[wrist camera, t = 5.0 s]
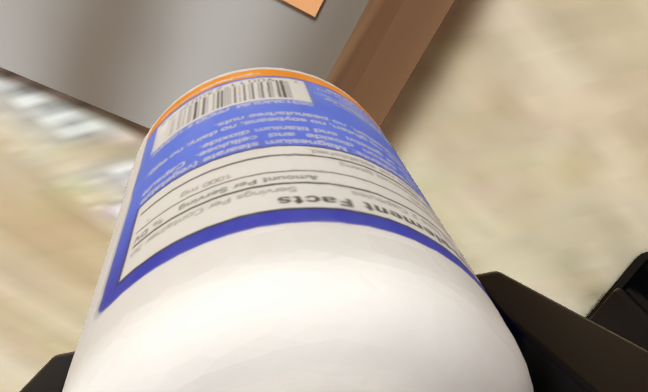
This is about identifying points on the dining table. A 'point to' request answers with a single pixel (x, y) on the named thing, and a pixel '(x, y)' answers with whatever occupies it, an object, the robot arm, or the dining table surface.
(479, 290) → the pill bottle
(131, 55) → the corner arena
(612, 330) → the robot arm
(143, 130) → the dining table surface
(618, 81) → the dining table surface
